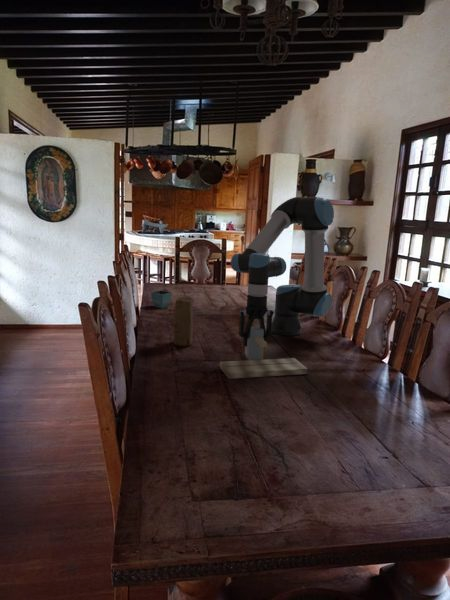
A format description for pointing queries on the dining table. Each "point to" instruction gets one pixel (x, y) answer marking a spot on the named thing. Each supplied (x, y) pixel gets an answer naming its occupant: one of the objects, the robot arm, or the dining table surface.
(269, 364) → the board
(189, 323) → the stone
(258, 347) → the hammer
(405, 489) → the dining table surface
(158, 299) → the flower pot
